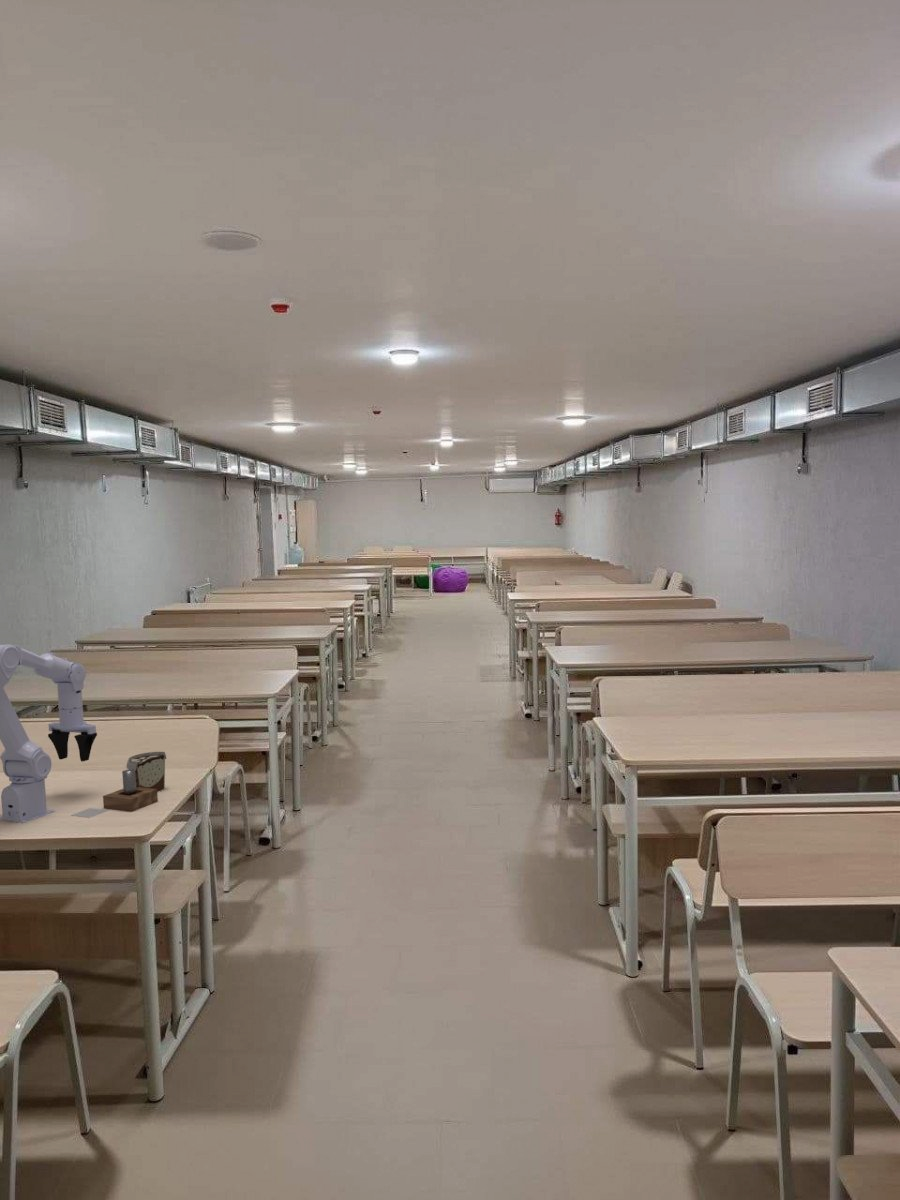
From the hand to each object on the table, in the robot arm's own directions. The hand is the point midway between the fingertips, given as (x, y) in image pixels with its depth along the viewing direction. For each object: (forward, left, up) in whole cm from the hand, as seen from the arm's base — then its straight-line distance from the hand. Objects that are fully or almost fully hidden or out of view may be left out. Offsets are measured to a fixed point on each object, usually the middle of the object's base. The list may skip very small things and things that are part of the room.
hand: (74, 759), depth 230 cm
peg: (-2, -21, -10) cm, 23 cm away
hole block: (-2, -21, -10) cm, 23 cm away
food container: (+8, -15, -10) cm, 20 cm away
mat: (-10, -16, -10) cm, 21 cm away
